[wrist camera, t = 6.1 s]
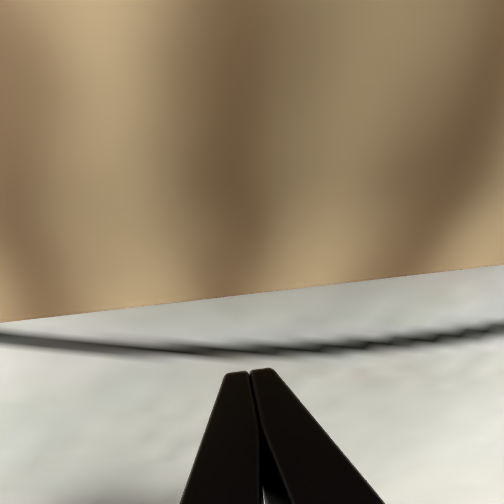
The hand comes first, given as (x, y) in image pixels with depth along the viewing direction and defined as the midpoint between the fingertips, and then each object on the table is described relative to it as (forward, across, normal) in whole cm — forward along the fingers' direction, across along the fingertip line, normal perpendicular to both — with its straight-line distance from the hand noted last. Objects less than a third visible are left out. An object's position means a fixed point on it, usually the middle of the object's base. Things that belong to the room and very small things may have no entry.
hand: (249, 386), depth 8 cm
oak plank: (+10, 0, -1) cm, 10 cm away
